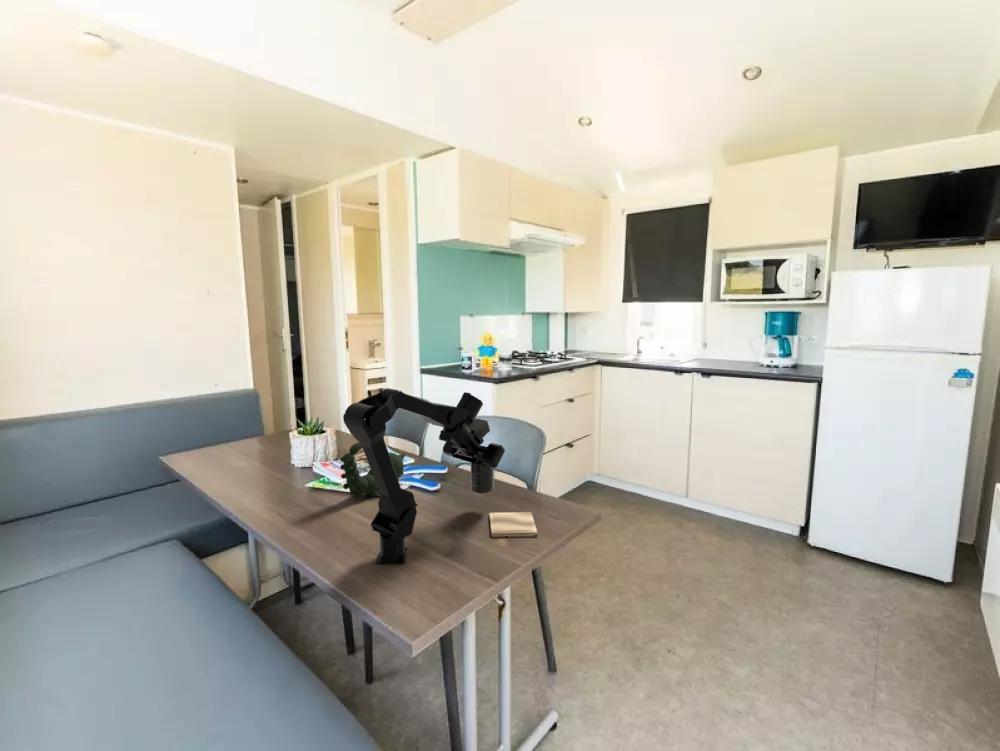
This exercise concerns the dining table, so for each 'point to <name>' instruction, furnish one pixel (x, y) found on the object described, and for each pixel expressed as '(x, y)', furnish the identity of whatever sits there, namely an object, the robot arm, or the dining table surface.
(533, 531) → the coaster
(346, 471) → the toy figurine
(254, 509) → the dining table surface
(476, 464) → the supplement bottle
